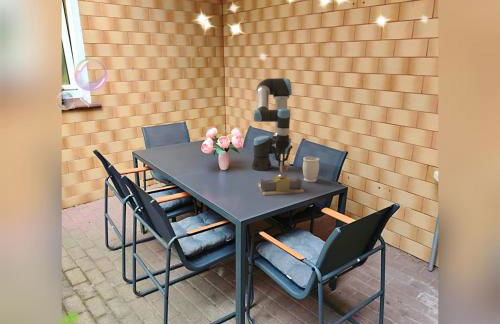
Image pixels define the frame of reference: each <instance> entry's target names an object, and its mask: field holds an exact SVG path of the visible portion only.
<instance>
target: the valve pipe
mask: <svg viewBox="0 0 500 324" xmlns="http://www.w3.org/2000/svg"><path fill="white" fill-rule="evenodd" d="M260 183H261V190H262V191H263V192H265V191H271V190H276V192H279V191H289V189H303V187H302V184H303V180H302V178H300V177H299V176H297V177H296V178H289V177H288V176H287V175H285V174H284V178H279V177H278V175H273V176H272V179H270V180H269V179H268V180H264V179H263V178H261V179H260ZM261 190H260V191H261ZM262 191H261V192H262Z"/></svg>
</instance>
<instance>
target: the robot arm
mask: <svg viewBox="0 0 500 324" xmlns="http://www.w3.org/2000/svg"><path fill="white" fill-rule="evenodd" d="M255 92H256V95H257V98H256V99H257V101H256V102H257V103H256V104H257V106H256V109H253V121H254V122H257V123H258V122H259V123H261V122H263V123H265V122H266V123H269V122H270V123H271V122H273V123H274V134H273V135H272V137H270V135H259V136H256V137H254V139H253V158H252V161H251V165H250V166H251V168H250V169H252V170H255V171H268V170H271V169H272V167H273V165H272V161H271V159H270V158H271V157H270V156H271V155H274V157H275V161H278V167H279V172H280V173H281V171H282V169H283V167H284V166H285V162H286V161H288V159H289V156H290V153H291V151H292V149H293V147H294V146H293V145H292V144H291V143H292V142H291V141H292V139H291V138H290V124H291V110H290V109H289V108H288V100H289V99H290V96H291V95H292V83H291V80H290V78H284V77H283V78H281V77H279V78H278V77H277V78H270V77H269V78H266V79H264V80H261V81H260V82H259V83H258V85H257V86H256V90H255ZM270 96H273V97H272V98H273V99H274V101H275V103H274V107H275V108H274V109H270V108H269V102H270V101H269V97H270ZM281 159H282V160H281Z"/></svg>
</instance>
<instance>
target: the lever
mask: <svg viewBox="0 0 500 324" xmlns="http://www.w3.org/2000/svg"><path fill="white" fill-rule="evenodd" d="M288 170H289V165H284V166H282V171H281V172H280V173H279V174H278V175H277V176H278V177H279V178H284V175H285V173H287V172H288Z"/></svg>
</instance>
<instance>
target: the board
mask: <svg viewBox="0 0 500 324" xmlns="http://www.w3.org/2000/svg"><path fill="white" fill-rule="evenodd" d="M257 186H258V188H259V189H260V191H261V193H262V195H263V196H268V195H270V196H271V195H282V194H283V195H284V194H296V193H298V194H300V193H305V189H303V188H302V189H289V191H279V192H276V190H271V191H265V192H263V191H262V190H261V182H257Z"/></svg>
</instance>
